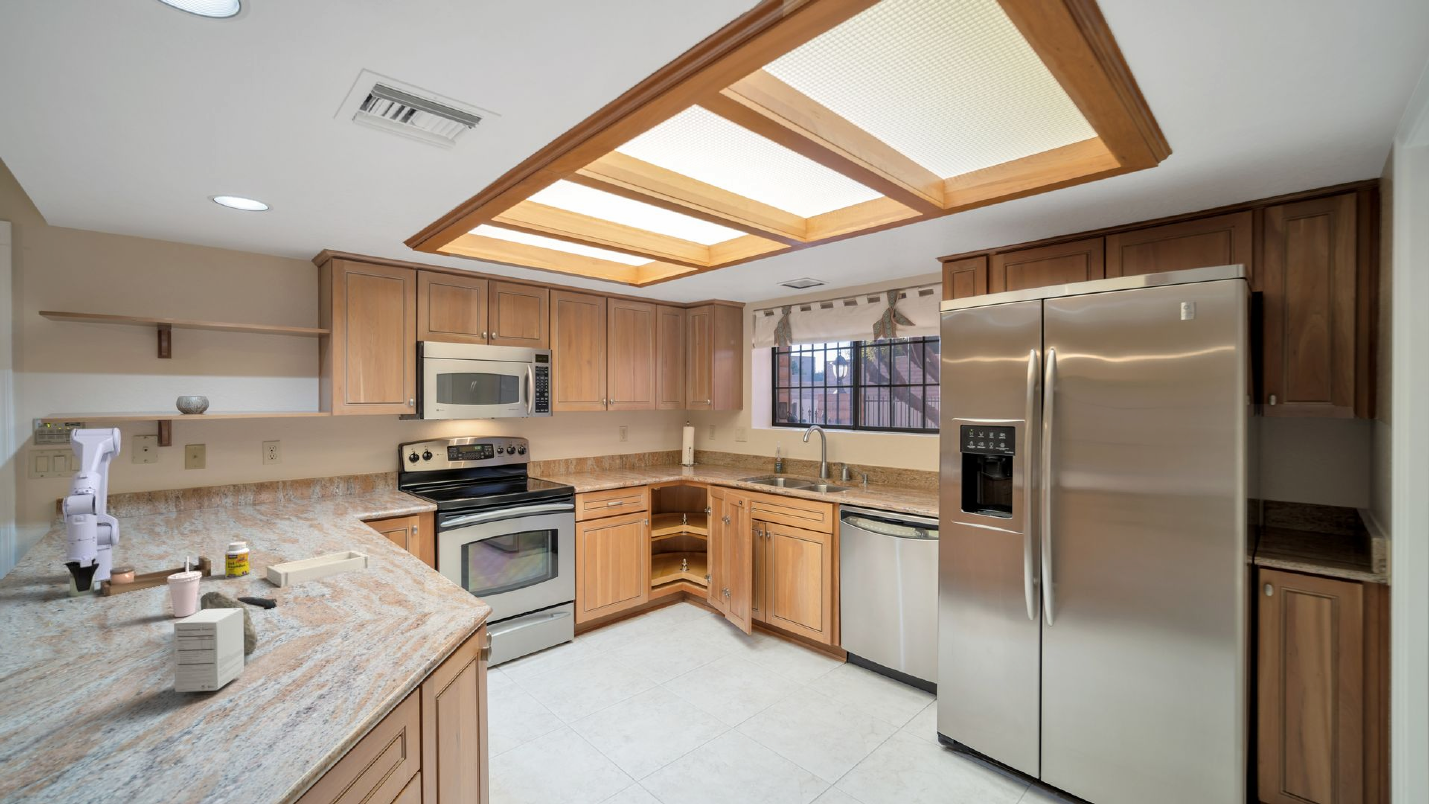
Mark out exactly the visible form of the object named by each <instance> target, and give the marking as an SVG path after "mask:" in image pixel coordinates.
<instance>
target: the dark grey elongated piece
mask: <svg viewBox="0 0 1429 804" xmlns="http://www.w3.org/2000/svg"><path fill="white" fill-rule="evenodd" d="M236 601H238V602H241V603H244V604H250V605H254V606H255V605H256V606H259V607H263V608H264V609H263V610H266V609H269V610H272V609H271V608H273V609H275V608H276V607H277V601H278V600H277V598H270V599H269V598H262V597H260V596H241V597H237V598H236Z"/></svg>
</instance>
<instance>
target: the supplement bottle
mask: <svg viewBox="0 0 1429 804" xmlns="http://www.w3.org/2000/svg"><path fill="white" fill-rule="evenodd" d="M224 555H225V556H224V557H225V559H224V563H225V565H224V567H225V568H224V569H225V570H224V571H225V572H224V573H225V574H224V577H225V579H226V580H236V579H242V578H246V577H248V576H249V575H250V548H248V547H247V541H235V542H231V543H229V544H228V549H227V550H226V551H225V553H224Z"/></svg>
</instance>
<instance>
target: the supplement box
mask: <svg viewBox="0 0 1429 804" xmlns="http://www.w3.org/2000/svg"><path fill="white" fill-rule="evenodd" d="M173 625H174V626H173V629H174V630H173V634H174V635H173V637H174V638H173V639H174V640H173V643H174V647H173V648H174V651H173V652H174V691H175V692H176V693H178V692H179V693H181V692H183V693H184V692H205V691H206V692H207V691H210V692H211V691H218V690H219V689H221V688H223V687H224V686H225V685H226V684H228V683H230V682H231V681H233V680H234V679H235V678H237V677H239V676H240V675H242V674H243V673H245V656H244V617H243V608H222V609H203V610H201V609H200V611H197V612H195V613H194V614H191V615H188V616H186V617H185V618H182V619H180V620H179V621H176V622H174V623H173Z"/></svg>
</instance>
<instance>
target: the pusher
mask: <svg viewBox="0 0 1429 804" xmlns="http://www.w3.org/2000/svg"><path fill="white" fill-rule="evenodd" d="M194 565H195V564H194V563H191V562H190V561H189V572H190V571H196V567H194ZM183 567H184V572H186V561H184V562H183Z"/></svg>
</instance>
